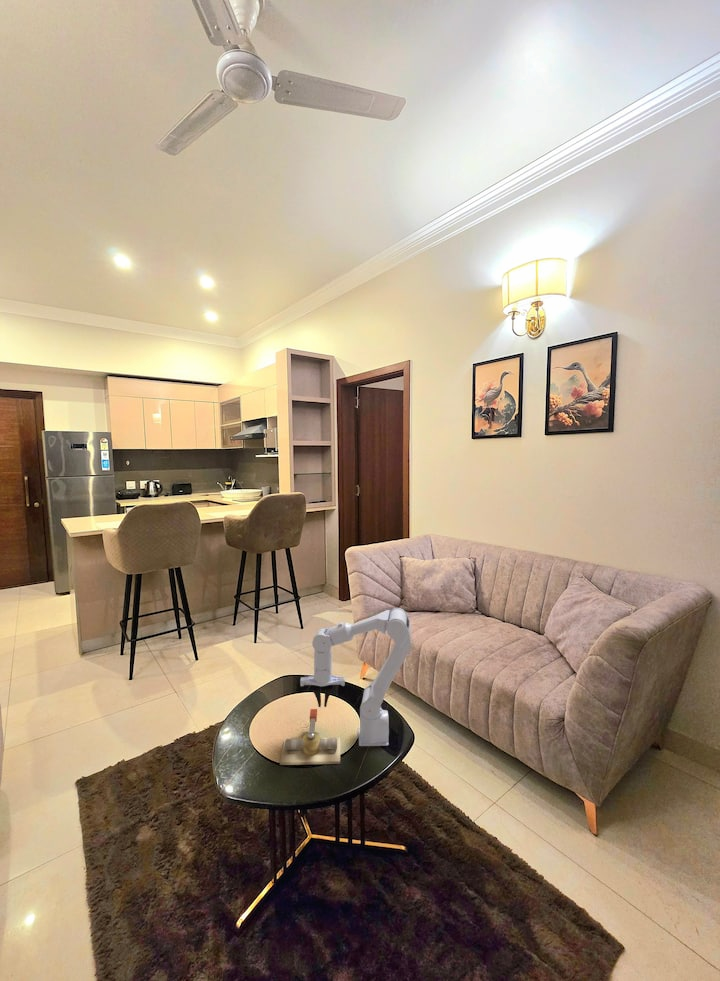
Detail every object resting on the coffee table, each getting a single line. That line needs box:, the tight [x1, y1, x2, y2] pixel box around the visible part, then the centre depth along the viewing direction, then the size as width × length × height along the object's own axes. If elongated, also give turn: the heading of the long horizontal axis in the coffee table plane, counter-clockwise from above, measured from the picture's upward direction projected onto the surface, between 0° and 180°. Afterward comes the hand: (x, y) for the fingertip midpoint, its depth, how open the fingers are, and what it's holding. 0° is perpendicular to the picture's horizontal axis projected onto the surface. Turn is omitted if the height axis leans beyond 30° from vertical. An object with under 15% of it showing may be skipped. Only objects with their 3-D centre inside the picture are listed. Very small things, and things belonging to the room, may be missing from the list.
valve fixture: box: [279, 731, 341, 766], centre depth 125 cm, size 18×10×5 cm, turn 93°
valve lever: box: [307, 708, 318, 739], centre depth 129 cm, size 12×2×2 cm, turn 3°
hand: (322, 705), depth 133 cm, fingers closed
